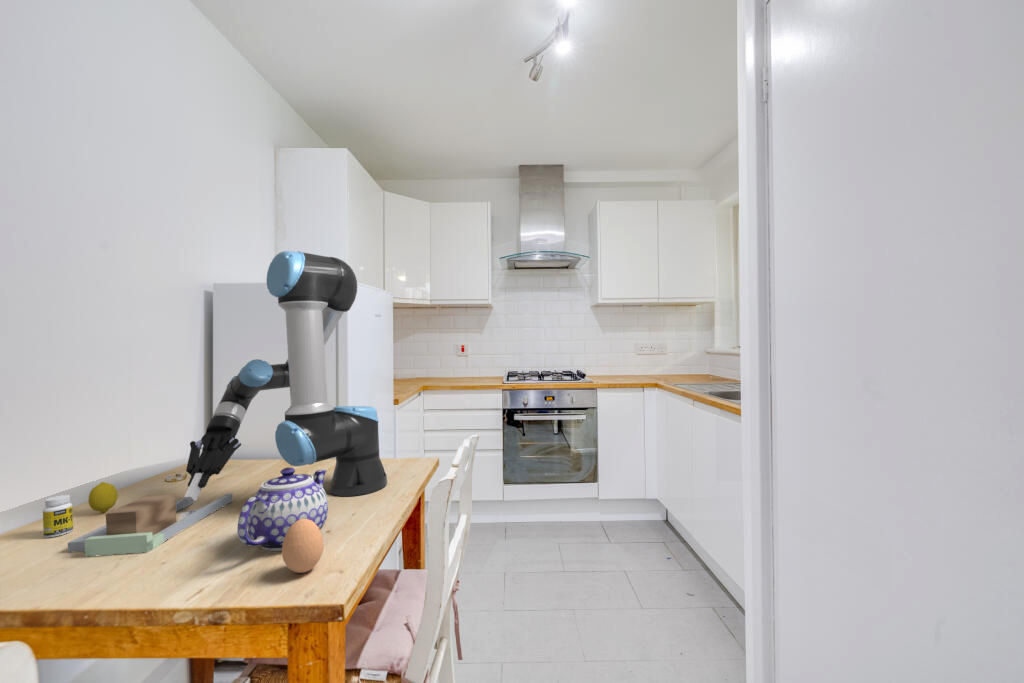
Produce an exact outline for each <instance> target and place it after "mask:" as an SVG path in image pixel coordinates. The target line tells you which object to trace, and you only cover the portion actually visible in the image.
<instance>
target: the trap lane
mask: <svg viewBox="0 0 1024 683" xmlns="http://www.w3.org/2000/svg"><path fill="white" fill-rule="evenodd" d="M232 500H233V493H226V494H224V495H223V496H221V497H219V498H217V499H215V500H213V501H212V502H210V503H208V504H206V505H204V506H203V507H201V508H199V509H198V510H196V511H194V512H192V513H190V514H189V515H187V516H185V517H183V518H182V519H180V520H178V521H177V522H176V523H174V524H172V525H171V526H169V527H167V528H165V529H164V530H162V531H160V532H158V533H156V534H155V535H152V532H146V533H132V534H118V535H107V532H106V524H105V525H103V526H100V527H98V528H97V529H94V530H91V531H90V532H88V533H85V534H84V535H81V536H79V537H77V538H74V539H72V540H71V541H68V542H67V552H68V553H71V552H70V551H81V552H84V557H85V556H94V557H97V556H96V555H107V556H114V555H113V554H121V555H127V554H126V553H134V554H144V553H143V552H147V553H149V552H151V551H152V550H154V549H156V548H157V547H159V546H160V545H159V544H161V543H162V542H164V541H165V540H167V539H169V538H170V537H172V536H173V535H175V534H176V533H178V532H180V531H181V530H183V529H185V528H187V527H188V526H190V525H192V524H194V523H195V522H197V521H199V520H200V519H202V518H204V517H205V516H207V515H208V514H210V513H212V512H214V511H215V510H217V509H219V508H220V509H222V508H223V507H222V506H224V505H225V506H227V505H228V504H227V503H229V502H230V503H231V501H232ZM233 501H234V500H233ZM233 501H232V502H233ZM230 503H229V504H230ZM190 504H191V505H193V502H189V501H188V500H187V499H186V498H185V497H182V498H180V499H179V500H176V513H177V511H178V510H180V509H182V508H183V509H185V508H187V507H189V506H191V505H190ZM226 504H227V505H226ZM188 505H189V506H188ZM186 506H187V507H186ZM225 506H224V507H225ZM184 507H185V508H184ZM221 507H222V508H221ZM183 509H182V510H183ZM220 509H219V510H220ZM180 511H181V510H180ZM217 511H218V510H217ZM178 512H179V511H178ZM215 512H216V511H215ZM215 512H214V513H215ZM212 514H213V513H212ZM210 515H211V514H210ZM207 517H208V516H207ZM205 518H206V517H205ZM205 518H204V519H205ZM202 520H203V519H202ZM200 521H201V520H200ZM200 521H199V522H200ZM197 523H198V522H197ZM195 524H196V523H195ZM195 524H194V525H195ZM192 526H193V525H192ZM190 527H191V526H190ZM187 529H188V528H187ZM172 538H173V537H172ZM169 540H170V539H169ZM167 541H168V540H167ZM164 543H165V542H164ZM162 544H163V543H162ZM162 544H161V545H162ZM158 545H159V546H158ZM156 546H157V547H156ZM155 547H156V548H155ZM153 548H154V549H153ZM150 550H151V551H150ZM148 551H149V552H148Z"/></svg>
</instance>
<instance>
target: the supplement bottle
mask: <svg viewBox="0 0 1024 683" xmlns="http://www.w3.org/2000/svg"><path fill="white" fill-rule="evenodd" d="M44 505H45V508H43V510H42V523H43V524H42V527H43V529H42V530H43V531H42V532H43V537H44V538H45V539H49V537H52V538H56V537H55V536H58V537H60V536H59V535H62V536H64V535H63V534H65V535H67V534H69V532H70V533H72V532H73V531H72V530H74V514H73V513H74V510H73V504H72V503H71V495H70V494H61V495H55V496H51V497H49V498H46V499H44ZM66 533H67V534H66Z"/></svg>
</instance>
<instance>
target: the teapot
mask: <svg viewBox="0 0 1024 683" xmlns="http://www.w3.org/2000/svg"><path fill="white" fill-rule="evenodd" d="M326 472H327V469H316V471H315V472H314V473H313V475H312V474H307V473H297V474H294V473H296V469H295V468H293V467H284V468H283V469H282V470H280V472H279V473H280V474H281V476H277V477H273V478H271V479H269V480H265V481H264V482H262V483H261V484H260V488H259V489H258V491H257V492H256V493H255V494H254V495H253V496H251V497H249V498H248V499H247V500H246V502H245V503H244V504H243V506H242V508H241V510H240V513H239V516H238V521H237V536H238V538H239V540H240V541H241V542H240V543H242V544H243V545H245V546H249V547H256V546H260V547H261V548H262V549H263V550H266V551H273V552H274V551H275V552H277V551H278V552H279V551H282V546H283V541H284V538H285V535H286V533H287V531H288V530H289V528H290V527H291V525H292V524H294V523H295V522H296V521H298V520H300V519H309V520H311V521H313V522H314V523H315V524H316V525H317V526H318V527H319V529H320V530H322V528H324V525H325V523H326V521H327V519H328V512H329V501H328V496H327V493H326V492H327V491H326V490H325V489H324V478H325V475H326Z"/></svg>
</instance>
